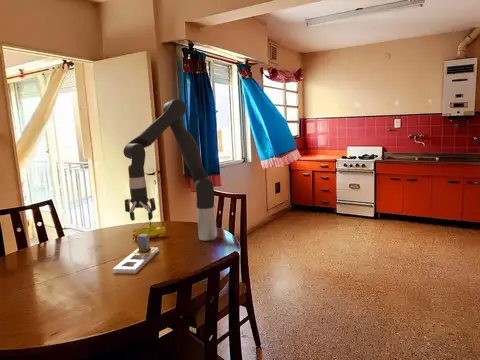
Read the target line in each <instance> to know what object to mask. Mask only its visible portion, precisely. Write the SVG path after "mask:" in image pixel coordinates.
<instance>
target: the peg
mask: <svg viewBox="0 0 480 360" xmlns="http://www.w3.org/2000/svg"><path fill="white" fill-rule="evenodd" d="M150 244H151V243H150V239H149V234H140V235H139V236H137V249H138V248H139V253H148V252H149V251H150V247H151V245H150Z"/></svg>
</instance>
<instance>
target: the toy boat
mask: <svg viewBox="0 0 480 360" xmlns="http://www.w3.org/2000/svg"><path fill="white" fill-rule="evenodd" d="M148 223H149V224H148ZM145 225H146V227H144V226H145ZM142 227H143V228H142ZM164 233H166V227H165V226H159V227H156V225H155V224H153V223H152V221H151V220H148V221H147V222H146V223H145V224H143V225H141V226H140V227H139V228H134V229H133V230H132V240H133V241H135V242H136V241H138V238H137V236H139V235H140V234H149V240H150V239H155V238H158V237H159V236H161V235H163V234H164Z"/></svg>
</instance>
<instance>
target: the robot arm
mask: <svg viewBox="0 0 480 360" xmlns="http://www.w3.org/2000/svg"><path fill="white" fill-rule="evenodd" d="M186 111H187V105H186V102H184V101H183V100H181V99H179V98H176V99H172V100H169V101H167V102H165V104H163V107H162V113H163V114H161V115H160V116H159V117H158V118H156V120H154V121H153V122H151V123H150V124H149V125H148V126H147V127H145V129H144V130H143V131H142V132H141V133H140V134H139V135H138V136H136V137H135V138H133V139H132V140H130V141H129V142H127V144H125V146H124V148H123V151H122V152H123V155H124V157H125V158H127V159H129V160H130V159H131V163H130V164H129V166H128V168H127V171H128V177H129V178H128V187H129V193H130V198H126V199H124V208H125V209H124V211H125V212H126V213H128V214H129V218H130V220H131V222H133V221H135V220H136V217H135V212H134V211H135V210H136V209H139V208H141V209H144V210H146V211H147V216H148V221H152V219H153V212H154V211H155V210H156V209H157V207H156V202H155V197H151V198H148V189H147V181H146V175H145V174H146V173H145V161H146V148H148V147H150V146H151V145H153V143H155V141H156V140H157V139H158V138H159V137H160V136H161V135H162V134H163V133H164V132H165V130H167V129H168V128H169V127H170V129H171V131H172V133H173V136H174V139H175V141H176V143H177V145H178V149H179V151H180V154H181V156H182V158H183V161H184V162H185V165H186V166H187V168H188V170H189V172H190V175H191V177H192V181H193V185H194V188H195V194H196V214H197V215H196V216H197V229H198V230H197V231H198V239H199V240H200V241H205V242H206V241H215V240H216V238H217V237H218V233H217V232H218V231H217V220H216V219H215V218H216V216H215V188H214V183H213V181H212V180H211V179H210V177H209V176H208V174H207V172H206V170H205V168H204V166H203V161H202V155H201V152H200V149H199V146H198V144H197V140H196V139H195V138H194V137H193V136H192V134H191V132H189V131H188V130H187V128H186V127H185V126H184V124H183V120H182V117H183V116H185V114H186ZM148 202H149V204H150V205H149V204H148ZM130 204H131V205H130ZM130 206H131V207H130Z"/></svg>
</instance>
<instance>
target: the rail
mask: <svg viewBox="0 0 480 360" xmlns="http://www.w3.org/2000/svg"><path fill="white" fill-rule="evenodd" d="M157 253H159V247H157V246H156V247H155V246H154V247H151V246H150V251H149V252H148V253H139V248H138V247H137V248H136V249H135V250H134V251H133V252H132V253H130V254H129V255H128V256H126V258H124V259H123V260H122V261H121V262H119V263H118V264H117V265H116V266H114V267H113V268H112V273H113V274H134V275H135V274H137V273H138V272H139V271H140V269H142V268H143V267H144V266H146V265H147V264H148V262H149V261H150V260H151V259H152V258H153V257H154V256H155V255H157Z"/></svg>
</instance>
